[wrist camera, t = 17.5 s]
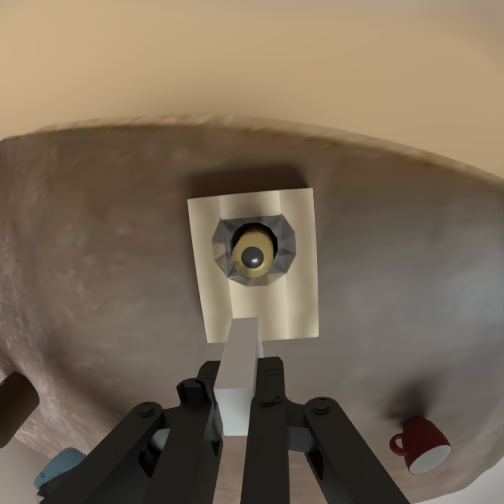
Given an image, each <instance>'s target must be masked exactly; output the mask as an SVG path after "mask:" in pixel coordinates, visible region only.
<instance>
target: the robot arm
mask: <svg viewBox="0 0 504 504" xmlns="http://www.w3.org/2000/svg"><path fill="white" fill-rule="evenodd" d="M176 388H177V391H178V395H179V398H180V401H181V403H180V406H178V407H174V408H169V409H162V407H161V406H160V405H159V404H158V403H155V402H144V403H141V404H139V405H137V406H136V407H134V408H133V409H132V410H131V411H130V413H129V414H128V415H127V416H126V417H125V418H124V419H123V420H122V421H121V422H120V423H119V424H118V425H117V426H116V427H115V428H114V429H113V430H112V431H111V432H110V433H109V434H108V435H107V436H106V437H105V438H104V439H103V440H102V441H101V442H100V443H99V444H98V445H97V446H96V447H95V448H94V449H93V450H92V451H91V452H90V453H89V454H88V455H85V454H83V453H82V452H80V451H79V450H77V449H75V448H72V447H69V448H66V449H64V450H62V451H61V452H60V453H59V454H58V455H57V456H55V457H54V458H53V459H52V460H51V461H50V462H49V463H48V465H47V466H46V467H45V468H44V469H43V471H42V472H41V473H40V474H39V475H38V476H37V477H36V479H35V481H34V485H35V486H36V488H37V489H39V492H38V493H37V495H36V496H35V497H36V500H37V503H38V504H212V503H213V497H214V492H215V486H216V481H217V476H218V470H219V465H220V459H221V454H222V448H223V440H222V436H221V435H222V430H223V431H224V435H225V436H240V435H248V436H247V446H246V456H245V465H244V474H243V483H242V492H241V501H240V504H290V483H289V456H288V453H289V452H288V450H293V451H299V452H304V454H305V456H306V459H307V461H308V463H309V465H310V467H311V469H312V471H313V473H314V476H315V478H316V480H317V482H318V484H319V486H320V488H321V490H322V492H323V494H324V496H325V498H326V501H327V503H328V504H410V503H409V501H408V500H407V499H406V497H405V496H404V495H403V493H402V492H401V491H400V489H399V488H398V486H397V485H396V484H395V482H394V481H393V480H392V478H391V477H390V475H389V474H388V473H387V471H386V470H385V469H384V467H383V466H382V464H381V463H380V462H379V460H378V459H377V457H376V456H375V455H374V453H373V452H372V451H371V449H370V448H369V446H368V445H367V444H366V442H365V441H364V439H363V438H362V437H361V435H360V434H359V432H358V431H357V430H356V428H355V427H354V425H353V424H352V422H351V421H350V420H349V418H348V417H347V415H346V414H345V413H344V411H343V410H342V408H341V407H340V405H339V404H338V403H337V402H336V401H335V400H334V399H331V398H329V397H317V398H314V399H311V400H309V401H308V402H307V403H306V404H305V405H302V404H296V403H293V402H291V401H290V400H288V399H287V397H286V396H285V382H284V369H283V361H282V360H281V359H280V358H279V357H266V358H263V349H262V340H261V331H260V322H259V317H248V318H234V319H232V323H231V327H230V330H229V334H228V338H227V341H226V345H225V348H224V352H223V356H222V359H221V361H206V362H205V363H204V364H203V365H202V366H201V368H200V370H199V374H198V376H197V378H189V379H186V380H183V381H182V382H180V383H179V384H178V385H177V387H176ZM145 445H146V446H145Z"/></svg>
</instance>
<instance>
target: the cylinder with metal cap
mask: <svg viewBox="0 0 504 504" xmlns="http://www.w3.org/2000/svg"><path fill="white" fill-rule="evenodd" d="M232 262H233V265H234V267H235V268H236V270H237V271H238V272H239V273H240V274H242V275H244V276H247V277H259V276H262V275H264V274H265V273H266V272H267V271H268V270H269V269H270V268H271V266H272V263H273V239H272V236H271V234H270V232H269V231H268V230H267V229H265V228H263V227H261V226H252V227H249V228H248V229H246V230H245V231H244V232H243V234H242V235H241V237H240V239H239V240H238V242H237V244H236V245H235V247H234V249H233V252H232Z"/></svg>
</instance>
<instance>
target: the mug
mask: <svg viewBox="0 0 504 504" xmlns="http://www.w3.org/2000/svg"><path fill="white" fill-rule="evenodd" d="M400 438H402V446H403V449H402V448H400V447H398V446H397V444H396V442H395V440H397V439H400ZM389 445H390V449H391V450H392V451H393V452H394V453H395V454H397V455H399V456H404V458H405V462H406V465H407V468H408V470H409V472H410V473H411V474H414V475H418V474H423V473H426V472H428V471H431V470H433V469H434V468H436V467H438V466H439V465H440V464H442V463H443V462H444V461H445V460H446V459H447V458H448V456H449V455H450V453H451V446H450V444H449V442H448V440H447V439H446V437H445V436H444V435H443V434H442V432H441V431H440V430H439V429H438V428H437V427H436V426H435V425H434V424H433V423H432V422H431V421H429V420H427V419H424V418H421V417H415V418H413V419H411V420H409V421H408V422H407V423H406V424H405V426H404V429H403V433H400V434H396V435H395V436H393V437H392V439H391V440H390V444H389Z"/></svg>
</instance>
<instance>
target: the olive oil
mask: <svg viewBox="0 0 504 504" xmlns="http://www.w3.org/2000/svg"><path fill="white" fill-rule="evenodd" d="M39 402H40V401H39V396H38V394H37V392H36V390H35V388H34V387H33V386H32V384H31V383H30V382H29V381H28V380H27V379H26V378H25V377H24V376H22V375H21V374H19V373H16V372H14V373H12V374H11V375H9V376H8V377H7V378H6V379H4V380H3V381H2V382H1V383H0V448H3V447H4V446H6V445H7V444H8V442H9V441H10V440H11V438H12V437H13V436H14V434H15V433H16V432H17V430H18V429H19V428H20V427H21V425H22V424H23V423H24V422H25V420H26V419H27V418H28V417H29V415H30V414H31V413H32V412H33V411H34V410H35V408H36V407H37V406H38V405H39Z"/></svg>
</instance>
